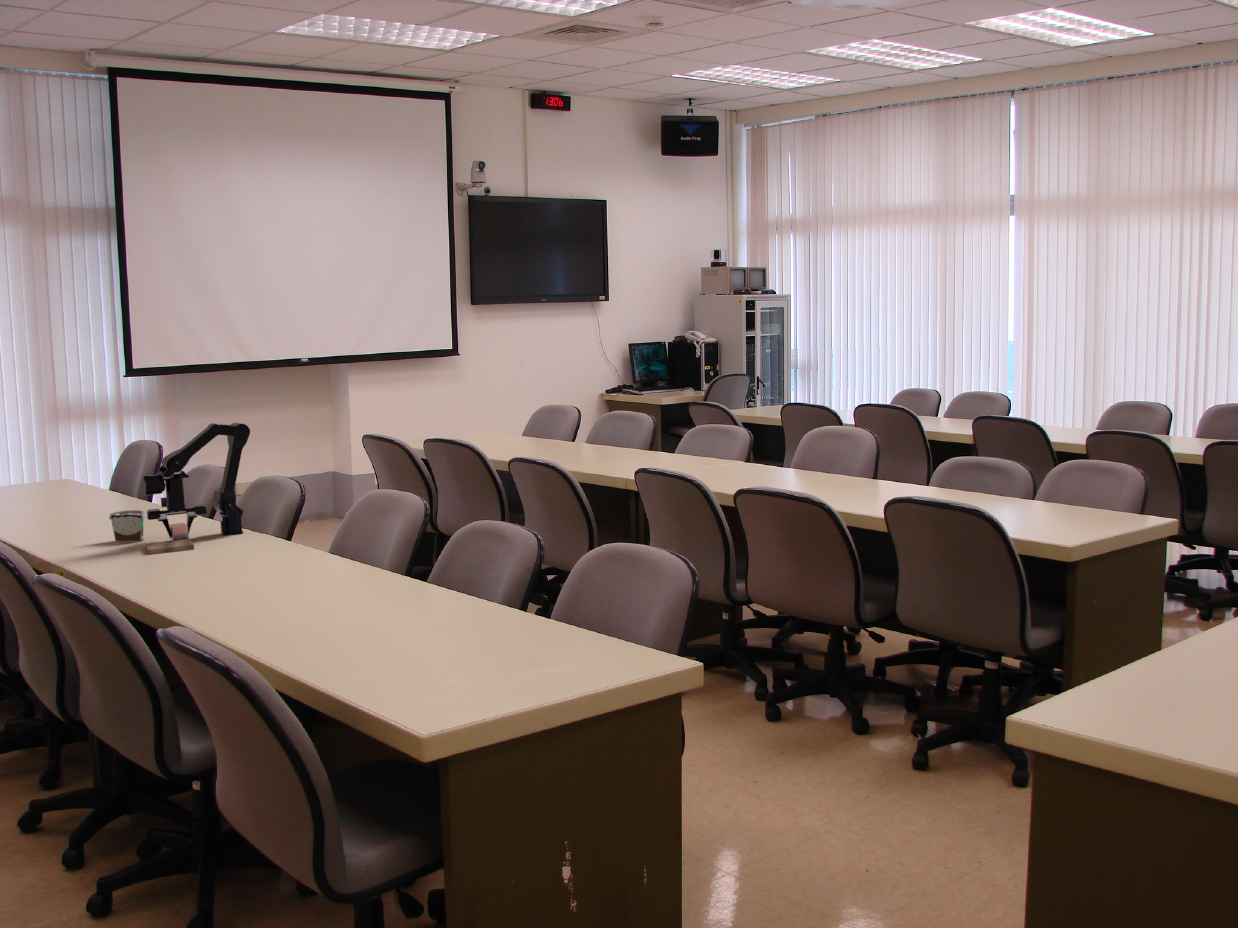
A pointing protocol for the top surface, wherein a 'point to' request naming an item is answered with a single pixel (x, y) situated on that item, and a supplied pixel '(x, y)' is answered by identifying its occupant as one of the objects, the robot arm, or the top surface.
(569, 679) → the top surface
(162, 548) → the walnut stand
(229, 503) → the robot arm
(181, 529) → the block
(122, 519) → the food container
